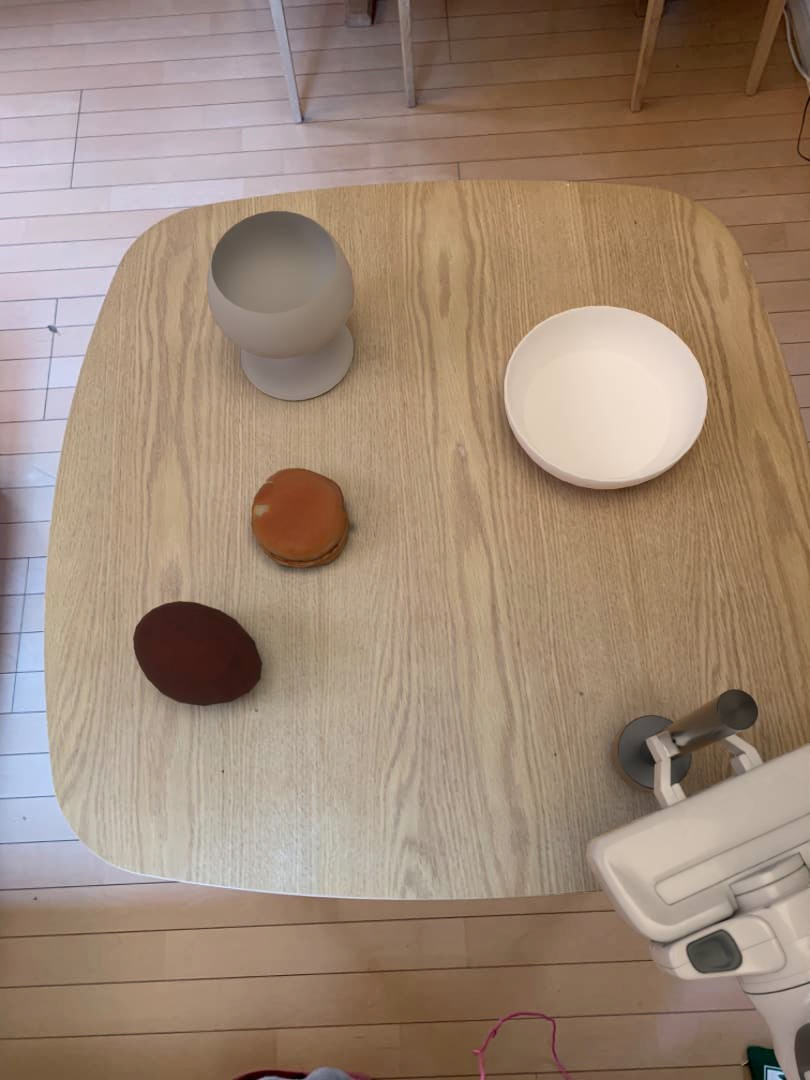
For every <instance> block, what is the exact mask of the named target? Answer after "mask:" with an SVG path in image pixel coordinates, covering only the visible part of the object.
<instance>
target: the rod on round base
mask: <svg viewBox="0 0 810 1080" xmlns="http://www.w3.org/2000/svg"><path fill="white" fill-rule="evenodd" d="M758 716H759V708H758V705H757V702H756V700H755V699H754V697H752V695H751V694H750V693H748V692H747V691H744V690H741V689H736V688H732V689H728V690H726V691H724V692H722V693H720V694H719V695H717V696H716V697H714V698H712V699H711V700H709V701H707V702H705V703H704V704H702V705H700V706H699V707H697V708H696V709H694V710H692V711H691V712H689V713H687V714H685V715H684V716H682V717H680V718H679V719H677V720H675V721H673V720H671V719H668V718H667V717H664V716H661V715H656V714H647V715H642V716H639V717H636V718H634V719H633V720H631V721H630V722H628V723H627V724H625V725H624V726H623V727H622V728H620V730H619V731H618V732H617V734H616V735H615V737H614V740H613V742H612V746H611V762H612V764H613V767H614V770H615V771H616V773H617V775H618V776H619V778H620V779H621V780H622V781H623V782H624V783H625V784H626V785H628V786H629V787H631V788H632V789H634V790H637V791H640V792H643V793H654V774H655V764H656V762H655V760H654V758H653V756H652V754H651V752H650V750H649V748H648V746H647V743H646V739H648V738H650V737H652V736H654V735H656V734H659V733H661V732H664V731H666V730H668V731H669V732H670V733H671V735H672V737H673V741H672V742H674V743H676V745H677V747H678V749H679V751H680V753H678V754H676V755H674V756H672V757H670V758H671V785H673V784H676V783H678V784H680V783H681V782H682V781H683V780H684V779H685V777H686V776H687V775H688V773H689V771H690V768H691V767H692V766H691V765H692V760H693V754H692V753H694V752H697V751H699V750H702V749H703V748H706V747H708V746H711V745H713V744H715V743H718V741H720V740H722V739H725V738H727V737H729V736H731V735H734V734H735V735H737V733H740V732H743V731H745V730H748V729H750V728H751V727H753V726H754V724H755V723H756V722H757V720H758Z"/></svg>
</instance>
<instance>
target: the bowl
mask: <svg viewBox="0 0 810 1080" xmlns="http://www.w3.org/2000/svg"><path fill="white" fill-rule="evenodd" d="M707 389H708V388H707V381H706V379H705V376H704V372H703V370H702V367H701V364H700V362H699V360H697V358H696V356H695V355H694V352H692V350H691V348H690V347H689V346H688V345H687V344H686V343H685V342H684V341H683V340H682V339H681V337H680V336H679V335H678V334H677V333H675V332H674V331H672V329H670V328H669V327H667V326H666V325H665V324H663V323H662V322H661V321H658V320H656V319H654V318H652V317H650V316H649V315H646V314H644V313H641V312H638V311H635V310H632V309H629V308H624V307H618V306H612V305H587V306H582V307H576V308H570V309H568V310H564V311H562V312H559V313H557V314H553V315H551V316H549V317H548V318H546V319H545V320H543V321H541V322H539V323H538V324H536V325H535V326H534V327H533V328H532V329H531V330H530V331H528V332H527V333H526V334H525V335H524V336H523V337H522V338H521V340H520V341H519V342H518V344H517V345H516V346H515V348H514V350H513V352H512V354H511V356H510V358H509V360H508V363H507V365H506V370H505V373H504V380H503V398H504V410H505V414H506V417H507V421H508V425H509V427H510V430H511V431H512V433H513V435H514V437H515V439H516V441H517V443H518V444H519V445H520V446H521V448H522V449H523V450H524V452H525V453H526V455H528V457H529V458H530V459H531V460H532V461H533V462H534V463H536V464H537V466H539V467H540V468H541V469H542V470H543V471H545V472H546V473H548V474H550V475H552V476H554V477H555V478H557V479H558V480H561V481H563V482H566V483H569V484H572V485H574V486H577V487H582V488H589V489H594V490H617V489H623V488H627V487H633V486H637V485H640V484H642V483H645V482H647V481H650V480H653V479H655V478H658V477H659V476H660V475H663V474H664V473H665V472H667V471H668V470H670V469H672V468H673V466H675V465H676V464H677V462H679V460H680V459H682V458H683V457H684V456H685V455H686V453H688V452H689V451H690V449H692V447H693V445H694V444H695V442H696V441H697V439H698V437H699V436H700V434H701V433H702V429H703V426H704V423H705V421H706V418H707V413H708V412H707V411H708V401H709V396H708V390H707Z"/></svg>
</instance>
